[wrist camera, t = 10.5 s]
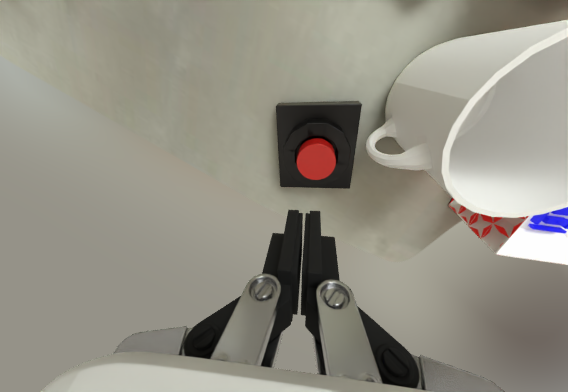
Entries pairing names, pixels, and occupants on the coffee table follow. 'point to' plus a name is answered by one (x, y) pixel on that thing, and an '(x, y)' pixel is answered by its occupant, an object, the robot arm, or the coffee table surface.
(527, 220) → the white and red cube
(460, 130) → the mug
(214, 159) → the coffee table surface
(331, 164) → the button
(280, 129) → the button box
